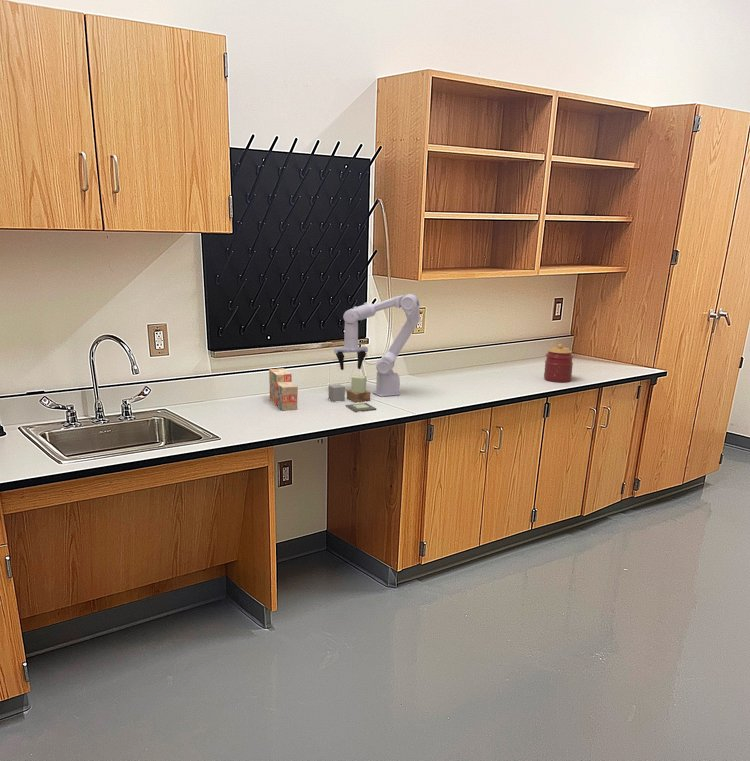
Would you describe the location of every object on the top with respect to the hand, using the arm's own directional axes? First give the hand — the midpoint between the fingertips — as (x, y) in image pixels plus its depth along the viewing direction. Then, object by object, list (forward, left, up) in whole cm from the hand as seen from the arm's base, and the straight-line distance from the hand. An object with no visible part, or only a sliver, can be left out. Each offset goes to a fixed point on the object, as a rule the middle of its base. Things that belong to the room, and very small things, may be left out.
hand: (350, 369), depth 289 cm
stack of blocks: (+33, +8, -10) cm, 35 cm away
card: (+7, +26, -10) cm, 29 cm away
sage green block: (+3, +14, -6) cm, 16 cm away
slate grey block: (+11, +11, -10) cm, 19 cm away
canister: (-103, +13, -10) cm, 104 cm away
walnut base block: (+3, +14, -10) cm, 18 cm away
